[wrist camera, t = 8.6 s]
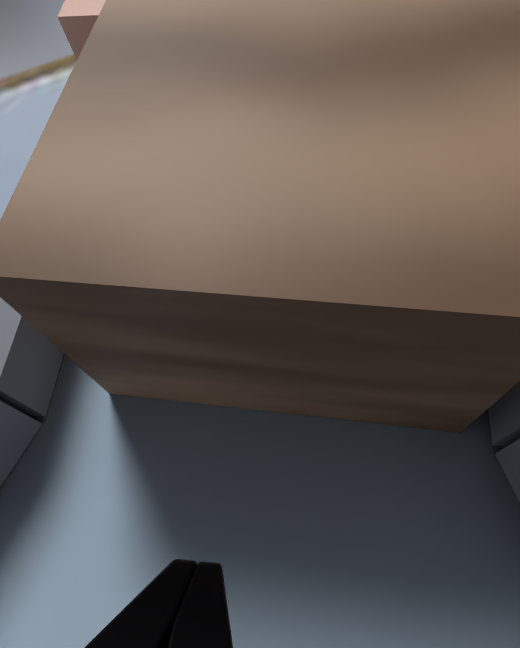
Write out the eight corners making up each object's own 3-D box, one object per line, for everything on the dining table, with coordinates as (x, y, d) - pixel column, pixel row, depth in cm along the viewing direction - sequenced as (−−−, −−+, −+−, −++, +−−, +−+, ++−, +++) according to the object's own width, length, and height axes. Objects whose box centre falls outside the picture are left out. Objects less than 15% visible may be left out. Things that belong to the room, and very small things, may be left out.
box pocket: (615, 589, 13) (774, 600, 9) (-67, 524, 15) (-219, 507, 11) (506, 92, 22) (557, -28, 18) (88, 99, 24) (40, -4, 20)
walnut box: (458, 434, 16) (586, 322, 8) (111, 395, 17) (-26, 274, 10) (444, 130, 22) (512, -83, 15) (190, 123, 23) (139, -71, 16)
